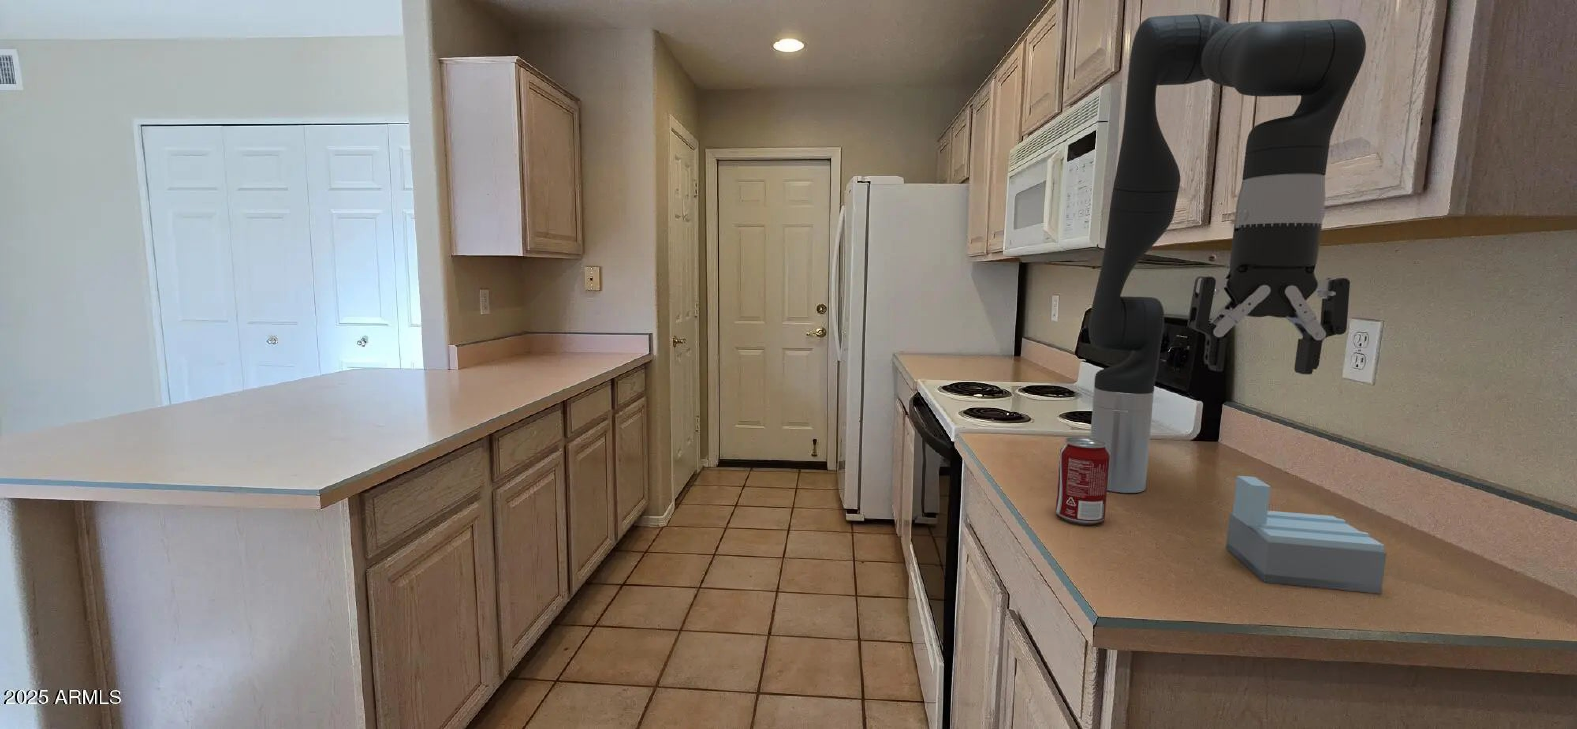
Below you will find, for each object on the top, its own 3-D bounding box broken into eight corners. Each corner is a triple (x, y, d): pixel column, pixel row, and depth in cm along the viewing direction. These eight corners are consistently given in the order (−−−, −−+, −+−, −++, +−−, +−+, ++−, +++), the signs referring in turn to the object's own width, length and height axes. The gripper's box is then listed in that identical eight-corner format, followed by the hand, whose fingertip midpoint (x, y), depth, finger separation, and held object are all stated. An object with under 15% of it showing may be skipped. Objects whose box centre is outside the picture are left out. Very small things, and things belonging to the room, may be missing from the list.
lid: (1222, 513, 86) (1226, 469, 85) (1332, 521, 83) (1338, 477, 82) (1258, 540, 76) (1263, 492, 76) (1383, 551, 74) (1390, 501, 73)
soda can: (1110, 529, 93) (1116, 448, 91) (1060, 524, 94) (1066, 445, 92) (1097, 512, 99) (1103, 437, 98) (1051, 509, 101) (1056, 434, 99)
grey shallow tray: (1226, 548, 86) (1230, 513, 86) (1328, 557, 84) (1333, 521, 83) (1263, 582, 77) (1268, 542, 76) (1380, 593, 74) (1386, 552, 73)
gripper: (1333, 224, 70) (1313, 369, 73) (1189, 224, 73) (1174, 364, 76) (1378, 219, 63) (1354, 380, 66) (1217, 220, 66) (1200, 374, 69)
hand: (1258, 371), depth 71 cm, fingers open, 8 cm apart
